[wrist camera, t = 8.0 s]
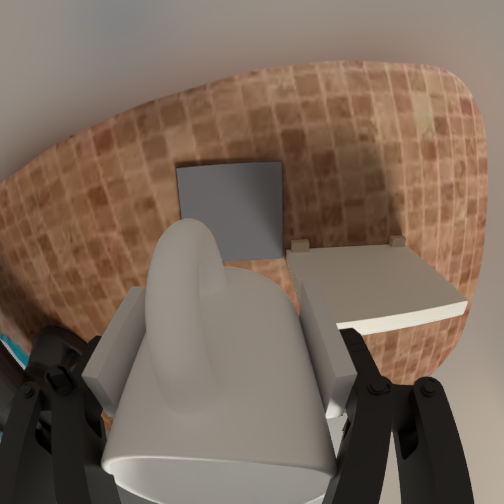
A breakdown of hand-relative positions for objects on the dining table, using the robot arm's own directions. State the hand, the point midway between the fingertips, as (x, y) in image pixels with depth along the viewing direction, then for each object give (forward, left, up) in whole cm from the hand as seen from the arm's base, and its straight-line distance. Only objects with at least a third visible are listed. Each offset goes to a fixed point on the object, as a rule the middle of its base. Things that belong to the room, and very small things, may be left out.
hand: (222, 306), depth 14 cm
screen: (+14, -6, -17) cm, 23 cm away
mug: (0, 0, -1) cm, 1 cm away
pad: (0, 0, -17) cm, 17 cm away
